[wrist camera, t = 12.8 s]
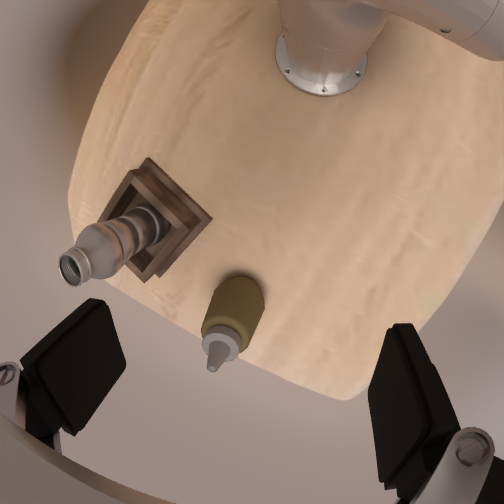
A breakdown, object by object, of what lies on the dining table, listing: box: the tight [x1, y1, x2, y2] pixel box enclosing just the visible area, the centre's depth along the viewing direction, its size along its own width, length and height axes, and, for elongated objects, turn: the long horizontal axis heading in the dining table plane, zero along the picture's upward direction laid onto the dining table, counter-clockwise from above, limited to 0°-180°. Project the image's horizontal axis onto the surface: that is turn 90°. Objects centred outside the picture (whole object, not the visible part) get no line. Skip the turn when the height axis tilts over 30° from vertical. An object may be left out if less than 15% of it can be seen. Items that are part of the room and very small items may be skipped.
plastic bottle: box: [58, 202, 169, 287], centre depth 34 cm, size 6×7×20 cm
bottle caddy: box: [97, 158, 212, 283], centre depth 41 cm, size 14×14×6 cm
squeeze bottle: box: [201, 277, 265, 372], centre depth 38 cm, size 8×8×18 cm
